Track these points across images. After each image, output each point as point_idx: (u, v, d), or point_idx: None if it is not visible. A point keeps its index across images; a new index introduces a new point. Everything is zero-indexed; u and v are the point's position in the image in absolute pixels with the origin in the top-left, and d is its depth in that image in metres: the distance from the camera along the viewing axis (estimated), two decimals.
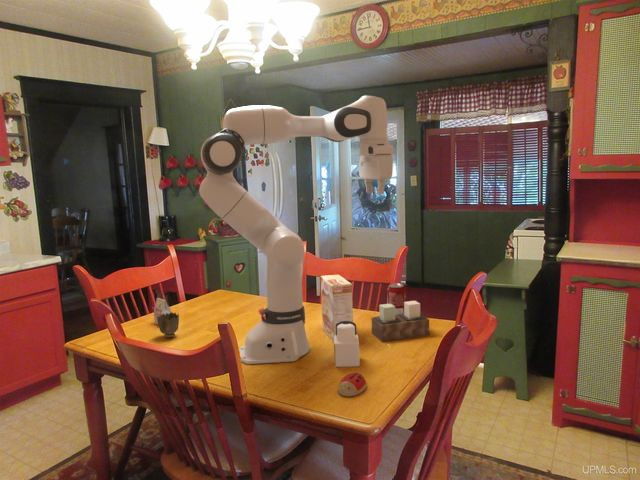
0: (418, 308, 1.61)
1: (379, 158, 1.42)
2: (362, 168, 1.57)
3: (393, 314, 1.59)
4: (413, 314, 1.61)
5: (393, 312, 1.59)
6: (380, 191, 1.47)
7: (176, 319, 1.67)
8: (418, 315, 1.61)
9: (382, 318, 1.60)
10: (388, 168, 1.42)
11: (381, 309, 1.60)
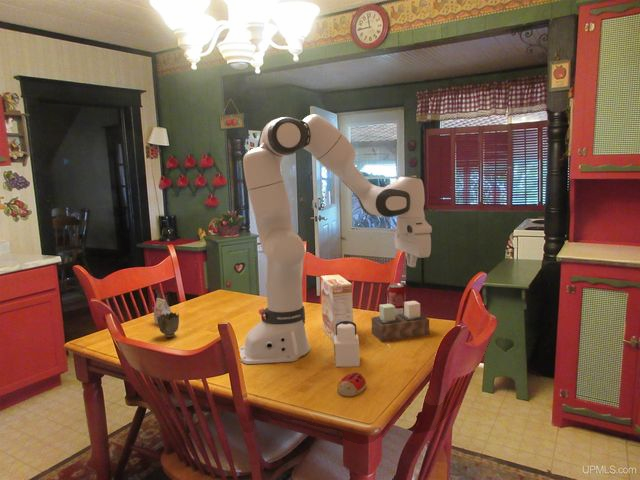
0: (418, 308, 1.61)
1: (418, 238, 1.49)
2: (398, 240, 1.65)
3: (393, 314, 1.59)
4: (413, 314, 1.61)
5: (393, 312, 1.59)
6: (412, 264, 1.59)
7: (176, 319, 1.67)
8: (418, 315, 1.61)
9: (382, 318, 1.60)
10: (427, 247, 1.50)
11: (381, 309, 1.60)
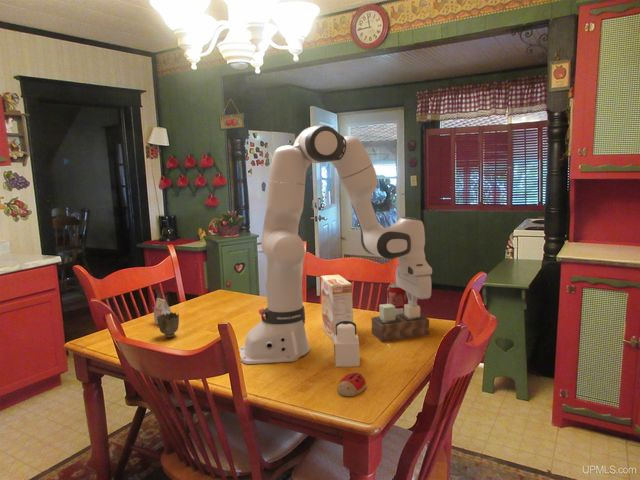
0: (418, 311, 1.61)
1: (419, 280, 1.51)
2: (399, 278, 1.67)
3: (393, 314, 1.59)
4: (413, 316, 1.61)
5: (393, 312, 1.59)
6: (413, 303, 1.61)
7: (176, 319, 1.67)
8: None
9: (382, 318, 1.60)
10: (427, 289, 1.52)
11: (381, 309, 1.60)
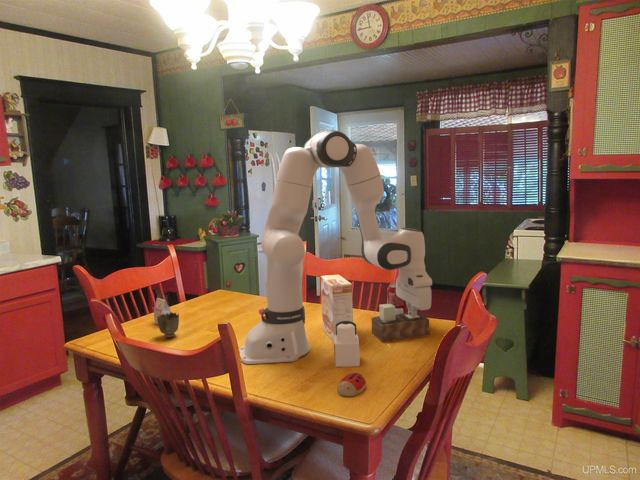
0: None
1: (419, 291, 1.52)
2: (399, 288, 1.67)
3: (393, 314, 1.59)
4: None
5: (393, 312, 1.59)
6: (413, 314, 1.61)
7: (176, 319, 1.67)
8: None
9: (382, 318, 1.60)
10: (427, 300, 1.52)
11: (381, 309, 1.60)
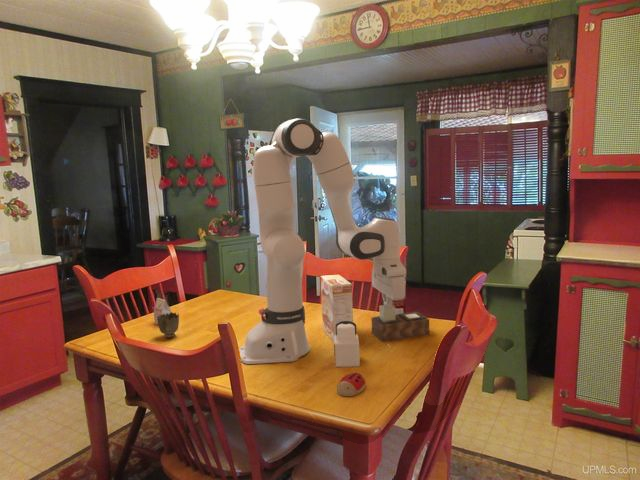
0: None
1: (392, 281, 1.49)
2: (375, 279, 1.64)
3: (393, 315, 1.59)
4: None
5: (393, 313, 1.59)
6: (388, 305, 1.59)
7: (176, 319, 1.67)
8: None
9: (382, 319, 1.60)
10: (401, 290, 1.50)
11: (381, 310, 1.60)
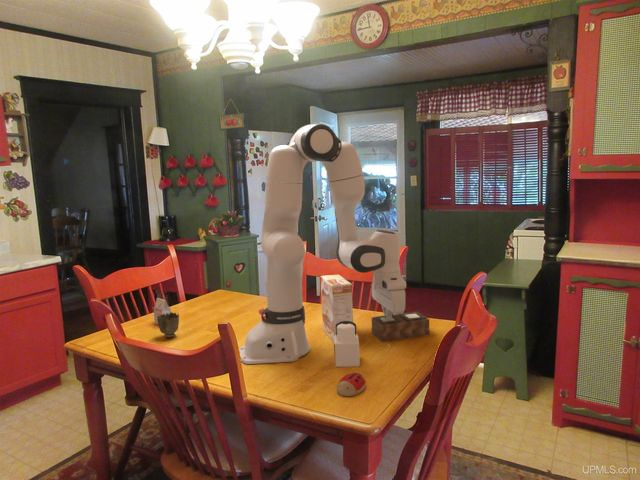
0: None
1: (392, 294, 1.50)
2: (375, 291, 1.65)
3: None
4: None
5: None
6: (388, 317, 1.59)
7: (176, 319, 1.67)
8: None
9: None
10: (401, 303, 1.50)
11: None
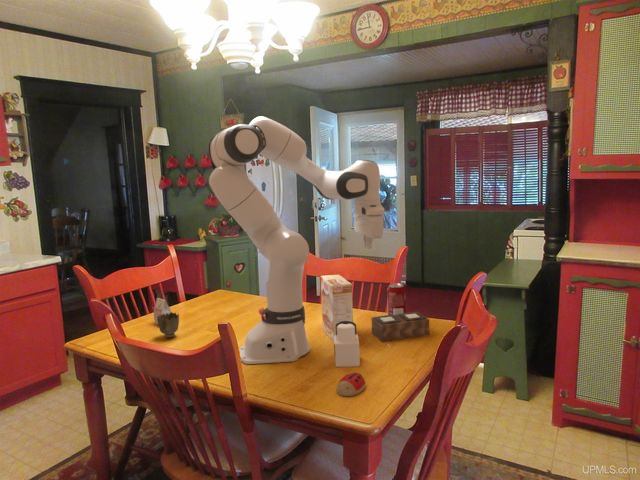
0: None
1: (371, 219, 1.55)
2: (357, 223, 1.70)
3: None
4: None
5: None
6: (368, 246, 1.64)
7: (176, 319, 1.67)
8: None
9: None
10: (379, 228, 1.55)
11: None
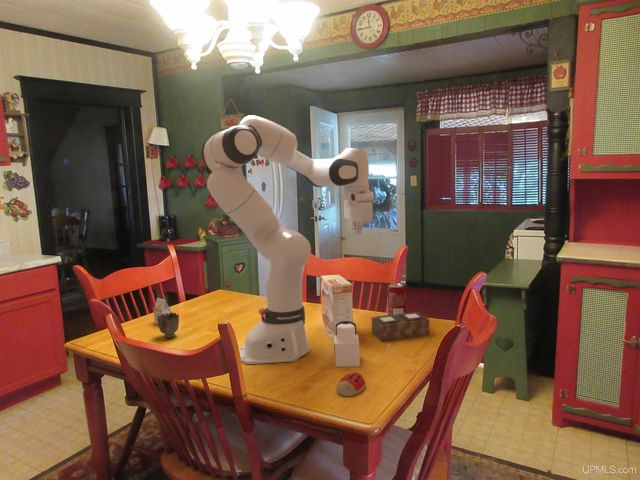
0: None
1: (360, 205, 1.59)
2: (346, 209, 1.74)
3: None
4: None
5: None
6: (358, 231, 1.68)
7: (176, 319, 1.67)
8: None
9: None
10: (368, 214, 1.59)
11: None
